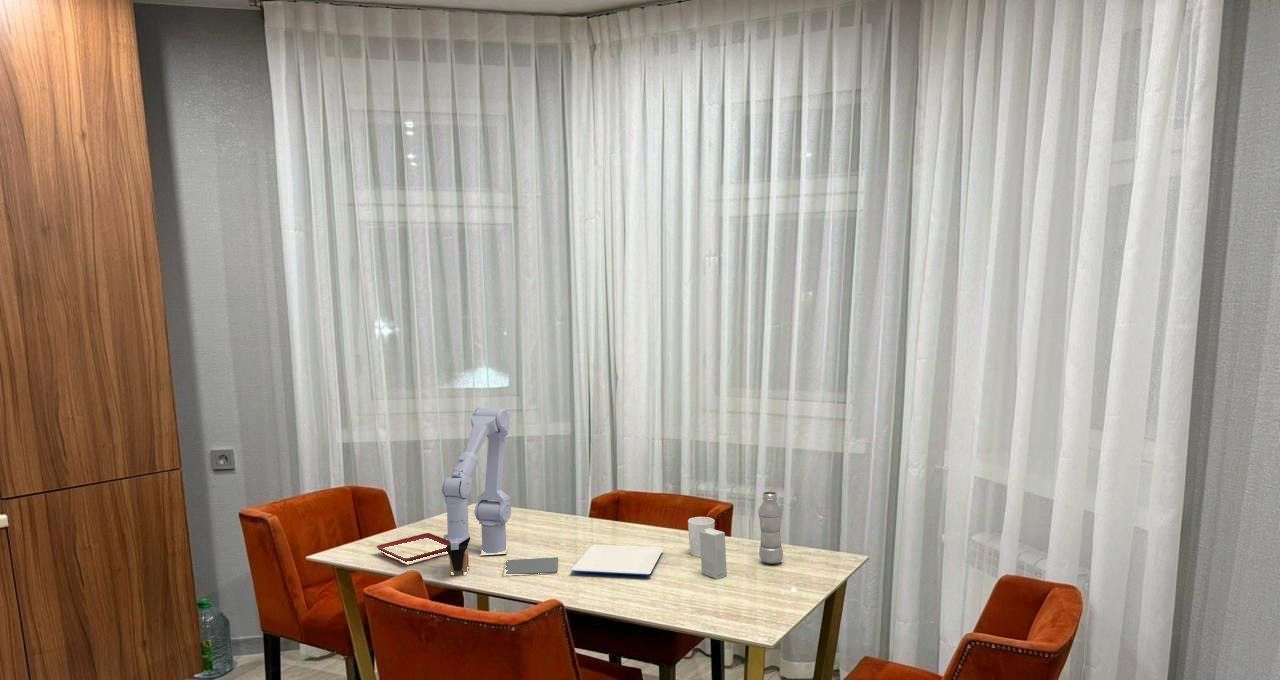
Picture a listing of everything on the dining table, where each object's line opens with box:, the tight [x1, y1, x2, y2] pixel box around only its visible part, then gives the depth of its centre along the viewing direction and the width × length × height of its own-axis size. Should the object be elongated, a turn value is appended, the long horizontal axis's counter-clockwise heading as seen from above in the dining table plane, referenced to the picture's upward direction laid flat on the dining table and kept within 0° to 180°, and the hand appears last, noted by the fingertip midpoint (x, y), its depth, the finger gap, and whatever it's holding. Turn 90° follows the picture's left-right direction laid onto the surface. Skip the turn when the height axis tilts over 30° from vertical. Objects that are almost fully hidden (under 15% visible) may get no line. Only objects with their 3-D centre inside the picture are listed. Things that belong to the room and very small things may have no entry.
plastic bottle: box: [757, 491, 784, 565], centre depth 213 cm, size 6×7×20 cm
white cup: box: [687, 516, 715, 558], centre depth 222 cm, size 8×8×10 cm
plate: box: [570, 543, 665, 576], centre depth 215 cm, size 22×22×2 cm
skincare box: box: [700, 528, 728, 580], centre depth 204 cm, size 6×4×12 cm
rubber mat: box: [504, 556, 559, 575], centre depth 214 cm, size 12×15×1 cm
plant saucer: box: [376, 532, 451, 562], centre depth 228 cm, size 18×18×3 cm
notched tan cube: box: [448, 548, 470, 573], centre depth 211 cm, size 5×5×6 cm
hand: (459, 567), depth 211 cm, fingers closed on notched tan cube, 5 cm apart
